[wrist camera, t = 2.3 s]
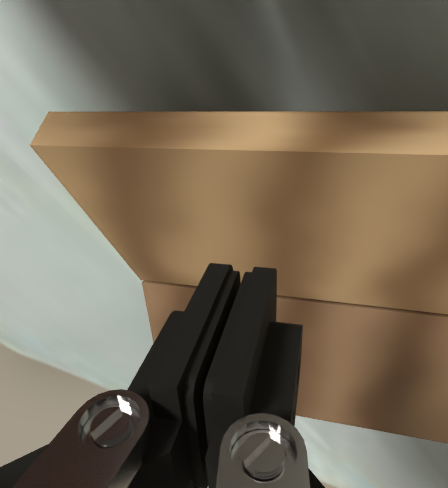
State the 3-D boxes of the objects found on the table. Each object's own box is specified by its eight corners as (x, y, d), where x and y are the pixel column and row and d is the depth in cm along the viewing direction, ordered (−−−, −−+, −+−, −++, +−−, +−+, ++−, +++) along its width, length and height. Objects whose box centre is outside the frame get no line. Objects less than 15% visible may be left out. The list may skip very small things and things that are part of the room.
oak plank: (661, 111, 11) (683, 160, 11) (496, 288, 22) (501, 320, 21) (48, 111, 16) (30, 145, 16) (148, 254, 27) (140, 279, 26)
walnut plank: (488, 300, 23) (498, 323, 21) (449, 419, 28) (455, 444, 26) (153, 266, 28) (141, 282, 26) (171, 371, 33) (162, 390, 31)
